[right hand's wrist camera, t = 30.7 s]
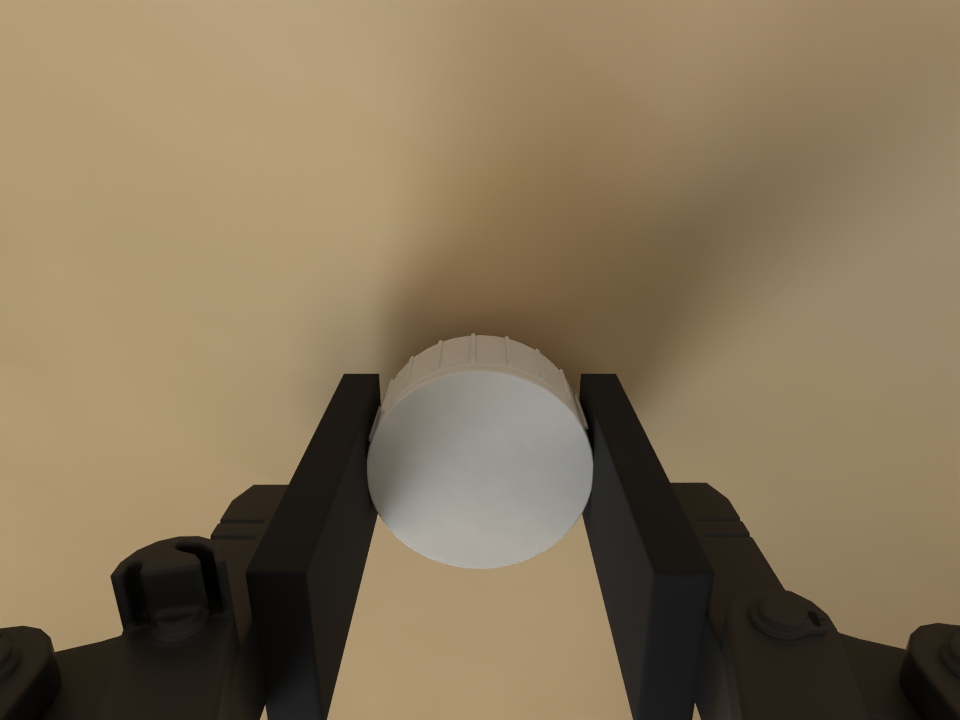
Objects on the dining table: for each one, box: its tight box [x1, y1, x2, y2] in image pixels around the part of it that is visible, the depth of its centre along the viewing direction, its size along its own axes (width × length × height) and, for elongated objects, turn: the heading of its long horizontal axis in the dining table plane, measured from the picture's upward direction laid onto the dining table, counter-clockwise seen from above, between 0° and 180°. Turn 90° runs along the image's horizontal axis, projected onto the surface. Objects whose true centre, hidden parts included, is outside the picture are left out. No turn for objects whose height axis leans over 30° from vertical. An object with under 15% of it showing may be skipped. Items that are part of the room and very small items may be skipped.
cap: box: [367, 333, 593, 569], centre depth 14 cm, size 4×4×2 cm
